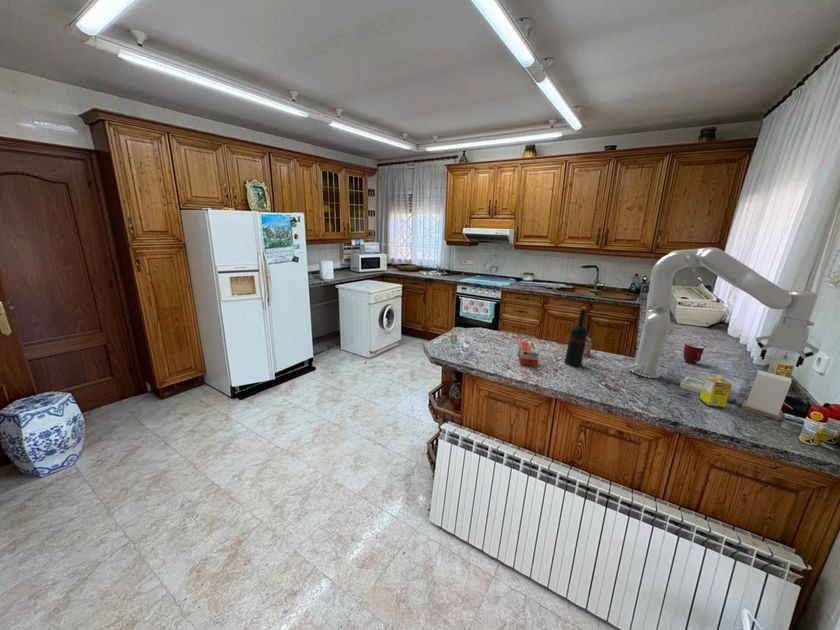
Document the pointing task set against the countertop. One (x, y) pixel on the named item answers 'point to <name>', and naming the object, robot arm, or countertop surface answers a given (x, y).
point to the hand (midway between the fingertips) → (779, 362)
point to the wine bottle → (577, 342)
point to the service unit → (767, 395)
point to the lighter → (587, 347)
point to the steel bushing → (732, 397)
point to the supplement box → (715, 392)
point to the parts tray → (692, 384)
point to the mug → (692, 353)
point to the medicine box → (528, 354)
